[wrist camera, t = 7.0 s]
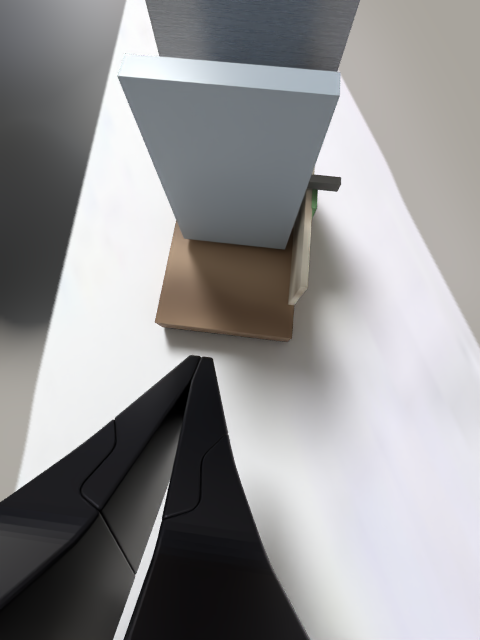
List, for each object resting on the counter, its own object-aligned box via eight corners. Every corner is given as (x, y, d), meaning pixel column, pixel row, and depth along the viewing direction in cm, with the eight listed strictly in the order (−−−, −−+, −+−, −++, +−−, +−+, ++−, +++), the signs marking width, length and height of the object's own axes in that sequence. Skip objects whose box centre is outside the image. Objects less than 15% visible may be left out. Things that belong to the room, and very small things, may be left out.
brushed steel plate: (302, 178, 18) (370, -33, 9) (187, 167, 18) (132, -51, 9) (304, 157, 18) (370, -65, 9) (191, 146, 19) (144, -81, 9)
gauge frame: (290, 342, 16) (310, 329, 12) (162, 326, 17) (132, 308, 12) (302, 173, 20) (321, 112, 15) (195, 163, 20) (181, 100, 15)
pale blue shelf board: (317, 254, 16) (415, 102, 7) (184, 240, 16) (117, 75, 7) (319, 205, 17) (409, 15, 8) (194, 192, 17) (144, -6, 8)
